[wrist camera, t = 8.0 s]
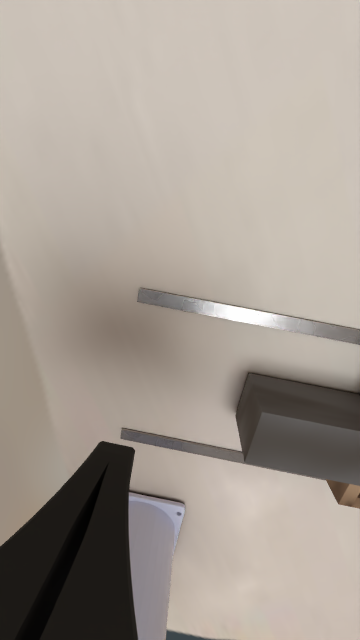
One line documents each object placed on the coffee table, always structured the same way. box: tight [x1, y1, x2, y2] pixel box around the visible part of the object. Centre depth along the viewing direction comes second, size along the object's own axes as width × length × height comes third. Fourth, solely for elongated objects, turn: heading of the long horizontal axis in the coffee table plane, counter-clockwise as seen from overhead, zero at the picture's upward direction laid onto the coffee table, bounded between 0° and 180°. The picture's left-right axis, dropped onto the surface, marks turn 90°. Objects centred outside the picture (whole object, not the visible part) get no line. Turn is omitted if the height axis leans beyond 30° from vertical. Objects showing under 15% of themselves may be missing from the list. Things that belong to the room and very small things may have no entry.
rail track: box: [121, 288, 360, 480], centre depth 19 cm, size 14×35×1 cm, turn 80°
